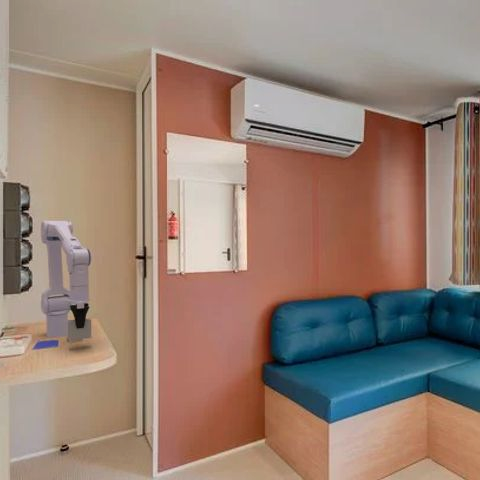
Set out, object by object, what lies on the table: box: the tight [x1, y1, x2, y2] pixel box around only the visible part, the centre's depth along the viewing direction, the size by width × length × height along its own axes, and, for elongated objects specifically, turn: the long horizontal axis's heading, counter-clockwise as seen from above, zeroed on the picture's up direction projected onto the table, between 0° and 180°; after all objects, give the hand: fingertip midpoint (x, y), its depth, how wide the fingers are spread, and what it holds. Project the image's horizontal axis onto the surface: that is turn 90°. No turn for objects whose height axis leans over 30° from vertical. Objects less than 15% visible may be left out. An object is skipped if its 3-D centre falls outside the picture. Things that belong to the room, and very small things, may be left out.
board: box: [67, 317, 92, 340], centre depth 119 cm, size 2×7×6 cm, turn 116°
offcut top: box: [66, 335, 84, 344], centre depth 128 cm, size 4×4×2 cm
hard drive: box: [31, 339, 60, 351], centre depth 125 cm, size 2×8×12 cm
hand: (80, 327), depth 119 cm, fingers closed on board, 2 cm apart
